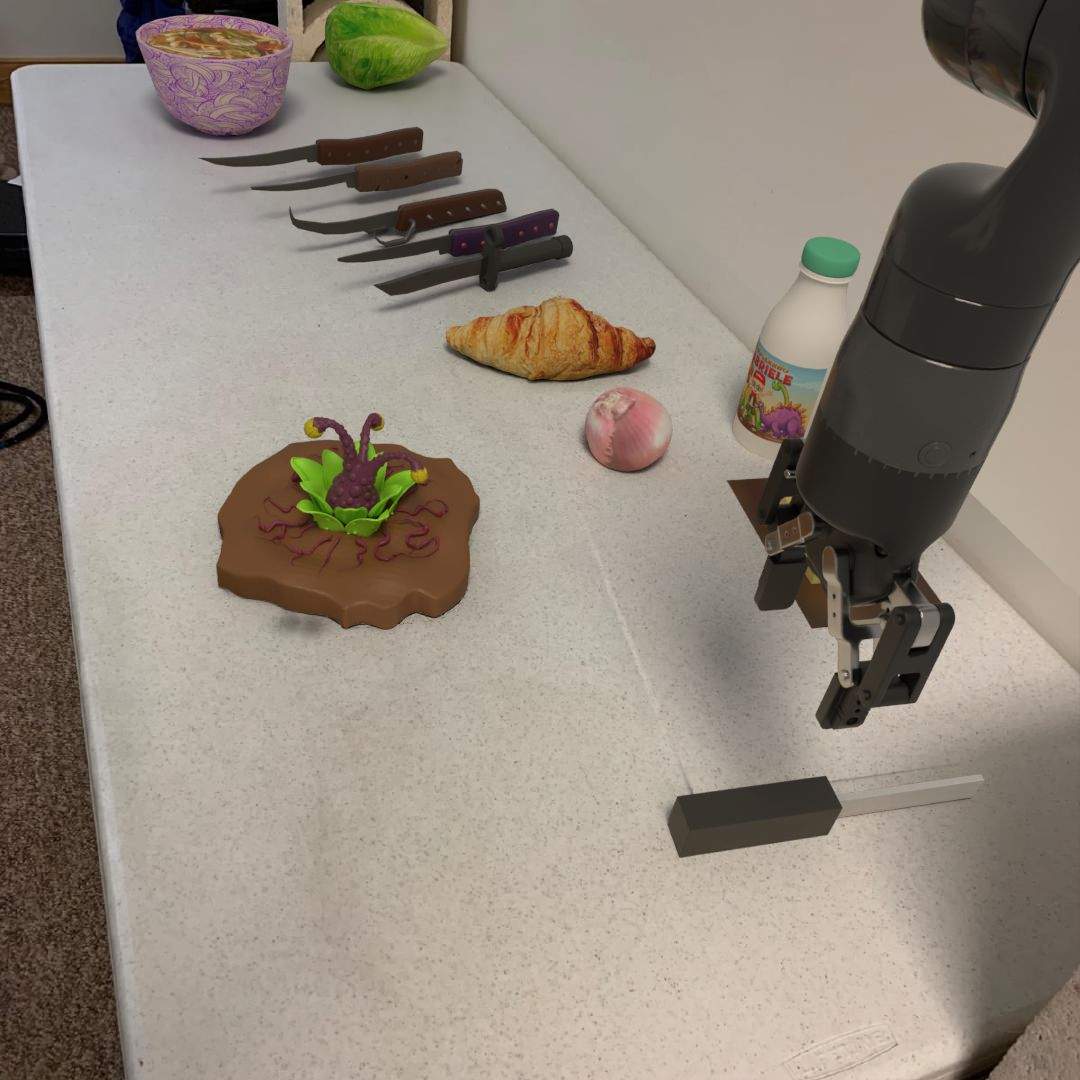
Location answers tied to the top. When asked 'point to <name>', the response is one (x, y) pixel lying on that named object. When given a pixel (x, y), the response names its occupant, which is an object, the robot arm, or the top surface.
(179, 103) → the bowl of food
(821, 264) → the milk bottle
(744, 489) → the butter board
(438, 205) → the knife set
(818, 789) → the butter knife
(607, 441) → the onion
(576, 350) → the croissant
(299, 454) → the plant
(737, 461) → the top surface
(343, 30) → the lettuce
